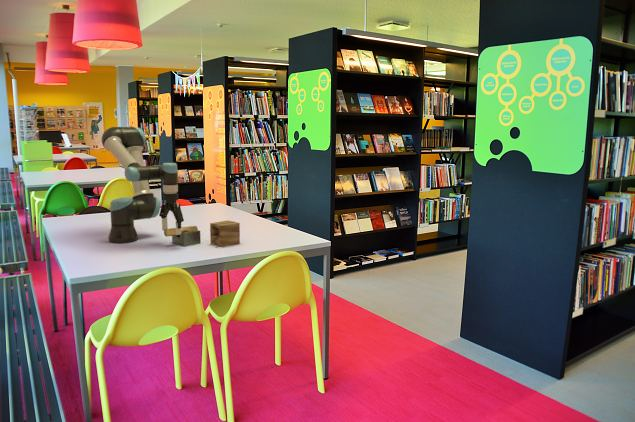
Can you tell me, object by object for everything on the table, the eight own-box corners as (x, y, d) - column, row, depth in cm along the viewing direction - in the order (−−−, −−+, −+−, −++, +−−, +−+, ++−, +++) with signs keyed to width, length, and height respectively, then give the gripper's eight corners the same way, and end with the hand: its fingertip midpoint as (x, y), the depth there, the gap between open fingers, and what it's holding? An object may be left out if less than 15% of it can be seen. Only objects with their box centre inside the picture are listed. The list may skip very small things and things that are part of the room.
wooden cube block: (210, 244, 269) (210, 223, 267) (228, 240, 277) (228, 220, 275) (221, 247, 262) (221, 225, 260) (239, 243, 271) (239, 222, 269)
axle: (168, 237, 259) (168, 229, 259) (164, 235, 262) (164, 228, 262) (197, 233, 272) (197, 226, 272) (193, 232, 275) (193, 225, 275)
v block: (172, 242, 271) (171, 230, 270) (188, 239, 278) (187, 227, 277) (184, 246, 263) (184, 233, 262) (200, 243, 270) (200, 230, 269)
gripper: (190, 194, 254) (191, 235, 258) (164, 189, 271) (165, 227, 274) (177, 196, 248) (178, 237, 252) (151, 190, 265) (153, 229, 269)
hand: (171, 232), depth 263 cm, fingers open, 13 cm apart
